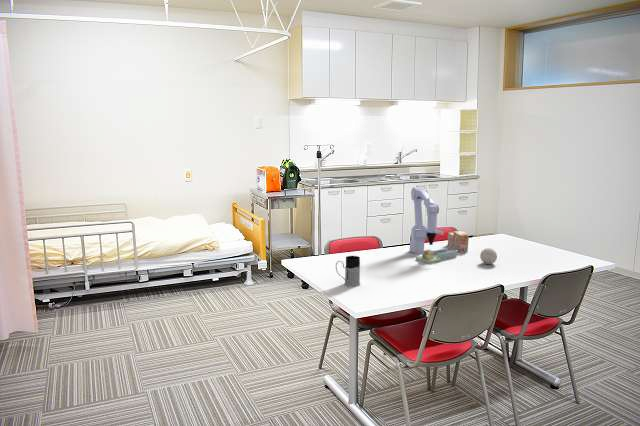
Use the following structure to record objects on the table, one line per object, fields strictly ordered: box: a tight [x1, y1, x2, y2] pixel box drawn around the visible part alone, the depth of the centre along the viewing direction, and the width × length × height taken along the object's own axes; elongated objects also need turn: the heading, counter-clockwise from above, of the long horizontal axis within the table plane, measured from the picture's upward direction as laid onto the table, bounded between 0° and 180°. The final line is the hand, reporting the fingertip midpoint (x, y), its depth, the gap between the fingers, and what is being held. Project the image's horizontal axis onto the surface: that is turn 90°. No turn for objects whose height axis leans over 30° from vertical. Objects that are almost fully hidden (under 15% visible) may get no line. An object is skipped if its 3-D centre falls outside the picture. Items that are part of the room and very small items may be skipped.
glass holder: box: [335, 255, 361, 288], centre depth 280 cm, size 9×14×15 cm, turn 110°
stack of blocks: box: [447, 230, 470, 253], centre depth 363 cm, size 21×6×12 cm, turn 8°
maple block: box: [421, 248, 435, 260], centre depth 329 cm, size 5×5×5 cm
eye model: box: [479, 247, 498, 265], centre depth 324 cm, size 10×10×10 cm
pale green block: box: [415, 248, 457, 265], centre depth 335 cm, size 12×27×4 cm, turn 126°
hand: (431, 244), depth 330 cm, fingers closed
